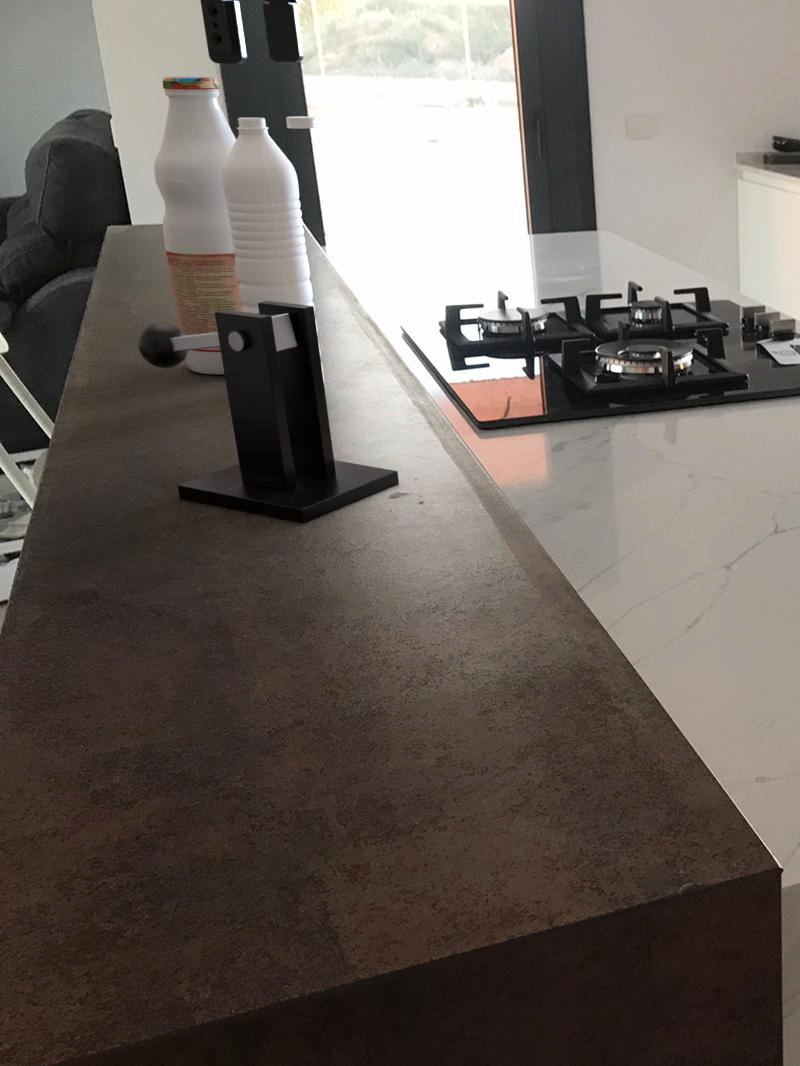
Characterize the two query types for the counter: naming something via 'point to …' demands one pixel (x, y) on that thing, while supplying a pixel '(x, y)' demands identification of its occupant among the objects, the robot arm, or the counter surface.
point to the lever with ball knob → (197, 341)
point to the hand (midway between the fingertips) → (259, 62)
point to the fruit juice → (197, 211)
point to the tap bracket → (280, 425)
